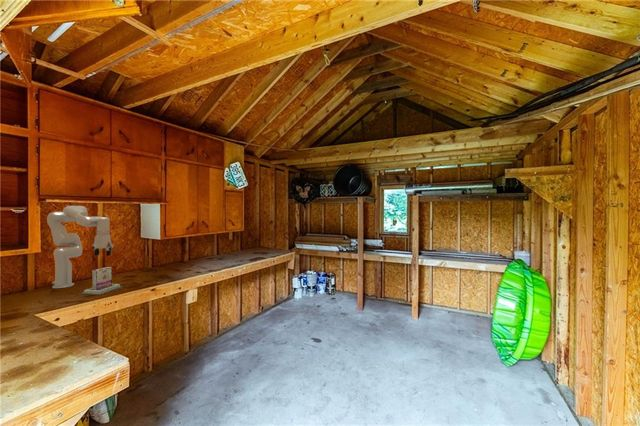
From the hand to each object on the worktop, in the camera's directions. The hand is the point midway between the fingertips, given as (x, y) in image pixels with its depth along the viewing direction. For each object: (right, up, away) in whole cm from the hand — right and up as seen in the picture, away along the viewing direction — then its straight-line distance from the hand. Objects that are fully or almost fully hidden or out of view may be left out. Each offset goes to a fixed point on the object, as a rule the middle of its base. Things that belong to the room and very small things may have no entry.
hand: (102, 255), depth 200 cm
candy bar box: (-1, -27, 0) cm, 27 cm away
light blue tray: (0, -27, 0) cm, 27 cm away
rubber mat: (0, -27, 0) cm, 27 cm away
